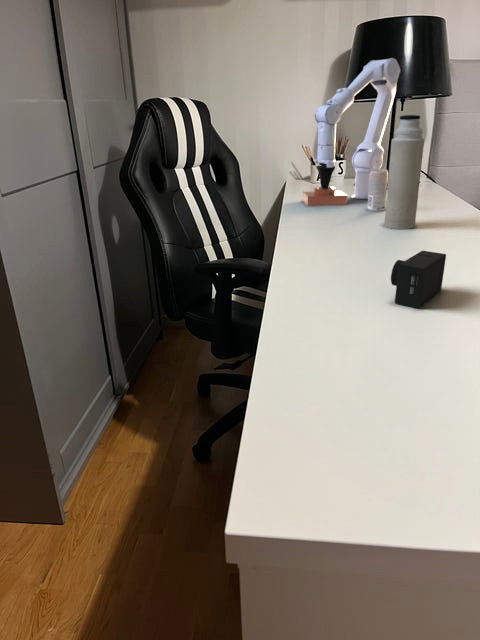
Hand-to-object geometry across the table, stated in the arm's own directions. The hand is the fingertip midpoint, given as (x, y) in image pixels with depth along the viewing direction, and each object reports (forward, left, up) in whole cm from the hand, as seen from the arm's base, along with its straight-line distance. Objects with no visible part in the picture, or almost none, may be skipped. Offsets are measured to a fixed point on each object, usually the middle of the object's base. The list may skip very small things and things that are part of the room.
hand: (324, 187), depth 168 cm
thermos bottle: (-30, +26, -5) cm, 40 cm away
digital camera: (-43, +80, -5) cm, 91 cm away
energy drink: (-19, +6, -5) cm, 21 cm away
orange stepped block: (0, 0, -5) cm, 5 cm away
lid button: (0, 0, -2) cm, 2 cm away
